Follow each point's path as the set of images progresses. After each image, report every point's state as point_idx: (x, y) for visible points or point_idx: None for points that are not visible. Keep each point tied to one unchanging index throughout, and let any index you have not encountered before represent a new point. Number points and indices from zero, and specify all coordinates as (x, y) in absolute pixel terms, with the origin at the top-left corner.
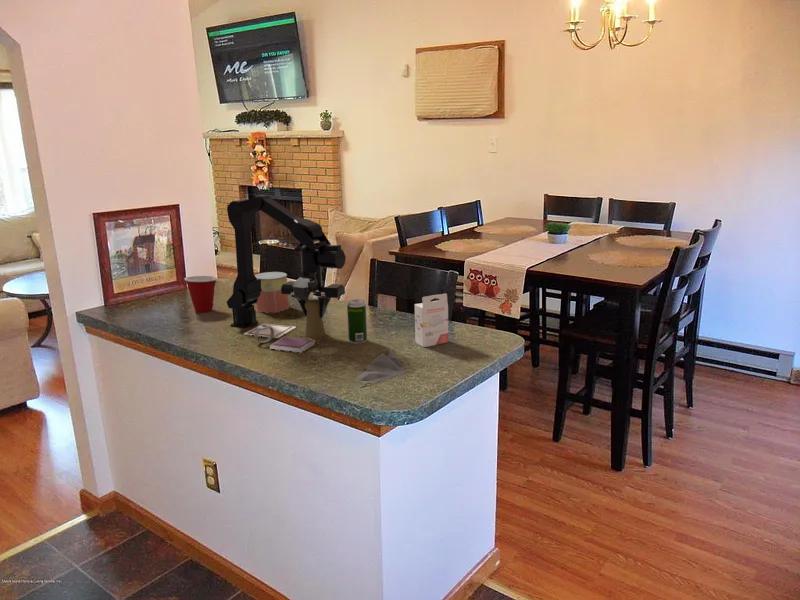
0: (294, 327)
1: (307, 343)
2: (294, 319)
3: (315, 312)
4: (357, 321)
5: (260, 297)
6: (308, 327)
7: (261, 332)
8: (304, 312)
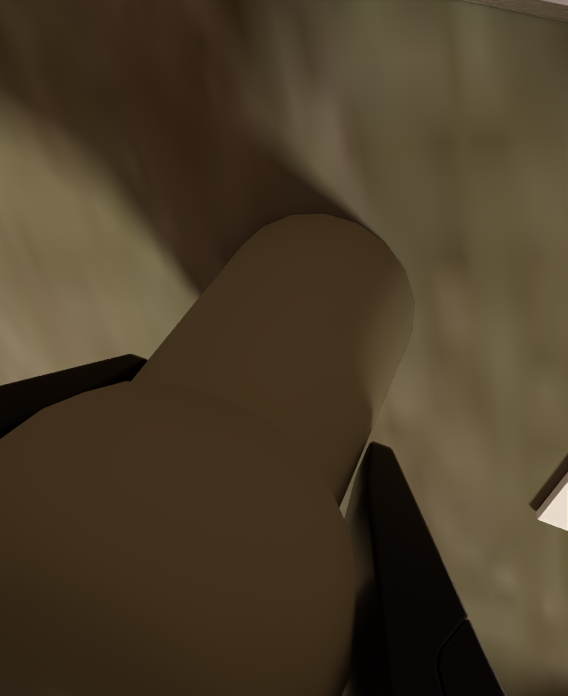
0: (555, 503)
1: None
2: (563, 681)
3: (143, 382)
4: None
5: None
6: (345, 273)
7: None
8: (395, 489)
